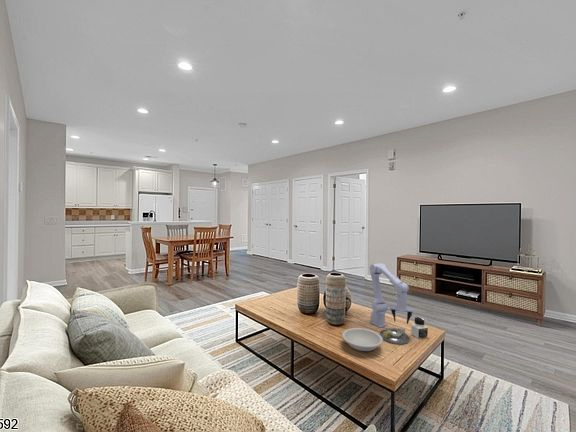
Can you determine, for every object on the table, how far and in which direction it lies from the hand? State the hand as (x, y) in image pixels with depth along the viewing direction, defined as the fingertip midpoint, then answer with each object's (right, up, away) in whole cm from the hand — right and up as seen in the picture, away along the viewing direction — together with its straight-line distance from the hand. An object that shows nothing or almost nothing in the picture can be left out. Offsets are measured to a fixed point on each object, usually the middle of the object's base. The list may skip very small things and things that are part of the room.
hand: (401, 322), depth 181 cm
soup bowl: (-29, -11, -13) cm, 33 cm away
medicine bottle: (+13, -10, +2) cm, 17 cm away
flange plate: (-5, -10, 0) cm, 11 cm away
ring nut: (-5, -8, 0) cm, 10 cm away
